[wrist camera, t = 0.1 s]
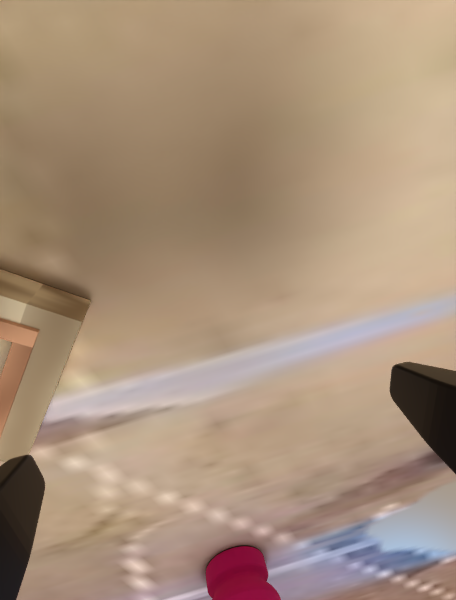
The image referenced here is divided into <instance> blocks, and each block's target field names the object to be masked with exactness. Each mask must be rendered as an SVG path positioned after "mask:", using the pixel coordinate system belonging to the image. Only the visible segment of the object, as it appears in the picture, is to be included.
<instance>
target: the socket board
mask: <svg viewBox="0 0 456 600" xmlns="http://www.w3.org/2000/svg"><path fill="white" fill-rule="evenodd" d="M90 302H91V300H88V299H85V298H82V297H79V296H76V295H73V294H71V293H68V292H65V291H62V290H59V289H56V288H53V287H50V286H48V285H45V284H42V283H39V282H36V281H33V280H30V279H27V278H25V277H22V276H19V275H16V274H13V273H10V272H7V271H4V270H2V269H0V339H4V340H7V341H11V342H12V345H11V348H10V351H9V354H8V357H7V359H6V362H5V365H4V368H3V371H2V374H1V377H0V461H3V462H7V461H8V460H9V459H11V458H14V457H19V456H23V455H29V453H30V451H31V448H32V446H33V443H34V441H35V438H36V436H37V434H38V431H39V429H40V426H41V424H42V421H43V419H44V416H45V414H46V411H47V409H48V406H49V404H50V401H51V399H52V396H53V394H54V392H55V389H56V387H57V384H58V382H59V379H60V377H61V374H62V372H63V369H64V367H65V364H66V362H67V359H68V357H69V354H70V352H71V349H72V347H73V344H74V342H75V339H76V337H77V334H78V332H79V329H80V327H81V325H82V322H83V320H84V317H85V315H86V312H87V310H88V307H89V305H90Z"/></svg>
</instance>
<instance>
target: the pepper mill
mask: <svg viewBox="0 0 456 600" xmlns="http://www.w3.org/2000/svg"><path fill="white" fill-rule="evenodd" d="M267 579H268V571H267V567H266V564H265V560H264V556H263V554H262V553H261V552H260V551H259V550H258V549H256V548H254V547H249V546H240V547H234V548H231V549H228V550H225V551H223V552H221V553H220V554H218V555H217V556H215V557H214V558H213V559H212V560H211V561H210V563H209V564H208V566H207V569H206V580H207V588H208V593H209V595H210V596H211V597H212V598H213V599H212V600H281V599H280V596H279V594H278V593H277V591H276V590H275V589H274V587H273V586H272V585H270V584H269V583H268V582H266V581H267Z"/></svg>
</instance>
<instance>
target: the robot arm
mask: <svg viewBox="0 0 456 600" xmlns="http://www.w3.org/2000/svg"><path fill="white" fill-rule="evenodd" d="M390 394H391V397H392V399H393V401H394V402H395V403H396V405H397V406H398V407H399V408H400V410H401V411H402V412H403V414H404V415H405V416H406V417H407V419H408V420H409V421H410V423H411V424H412V425H413V426H414V428H415V429H416V430H417V432H418V433H419V434H420V435H421V437H422V438H423V439H424V440H425V441H426V443H427V444H428V445H429V446H430V447H431V448H432V449H433V451H434V452H435V453H436V454H437V455H438V456H439V457H440V458H441V459H442V460H443V461H444V462H445V463H446V464H447V465H448V466H449V468H450V469H451V470H452V471H453V472H454V473H455V474H456V371H453V370H448V369H443V368H438V367H433V366H427V365H422V364H417V363H412V362H404V363H400V364H396V365H394V366H393V367H392V371H391V382H390ZM44 491H45V482H44V478H43V476H42V474H41V472H40V470H39V468H38V466H37V464H36V462H35V460H34V459H33V457H32V456H31V455H23V456H19V457H14V458H11V459H9V460H8V461H7V462H5V463H4V464H3V465H1V466H0V600H16V598H17V595H18V592H19V589H20V586H21V583H22V580H23V577H24V574H25V571H26V568H27V564H28V561H29V558H30V554H31V550H32V546H33V542H34V537H35V533H36V528H37V523H38V519H39V514H40V510H41V505H42V500H43V496H44Z"/></svg>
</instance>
